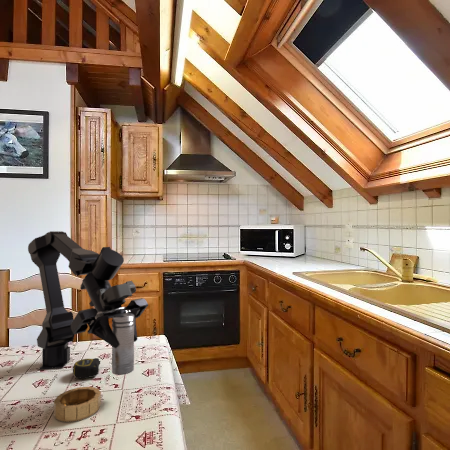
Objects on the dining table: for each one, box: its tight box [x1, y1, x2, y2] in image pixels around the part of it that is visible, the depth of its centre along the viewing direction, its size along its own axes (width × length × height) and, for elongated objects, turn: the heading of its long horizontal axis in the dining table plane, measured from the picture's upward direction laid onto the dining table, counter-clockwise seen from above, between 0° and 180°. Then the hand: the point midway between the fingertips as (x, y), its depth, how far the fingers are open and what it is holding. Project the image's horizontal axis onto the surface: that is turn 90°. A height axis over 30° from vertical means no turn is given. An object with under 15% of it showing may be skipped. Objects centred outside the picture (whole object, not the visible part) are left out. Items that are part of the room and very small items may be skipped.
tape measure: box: [72, 357, 101, 379], centre depth 88 cm, size 7×7×4 cm
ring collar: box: [53, 386, 102, 423], centre depth 70 cm, size 9×9×3 cm
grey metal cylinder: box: [111, 313, 135, 376], centre depth 76 cm, size 5×5×13 cm
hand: (126, 343), depth 75 cm, fingers closed on grey metal cylinder, 5 cm apart
